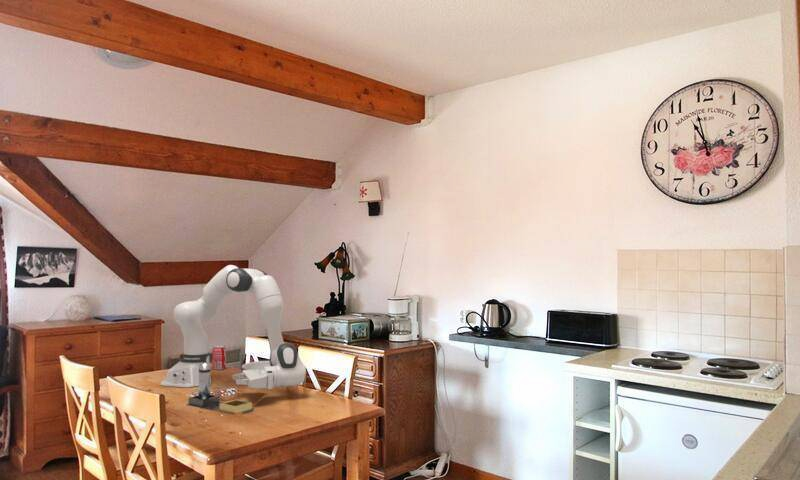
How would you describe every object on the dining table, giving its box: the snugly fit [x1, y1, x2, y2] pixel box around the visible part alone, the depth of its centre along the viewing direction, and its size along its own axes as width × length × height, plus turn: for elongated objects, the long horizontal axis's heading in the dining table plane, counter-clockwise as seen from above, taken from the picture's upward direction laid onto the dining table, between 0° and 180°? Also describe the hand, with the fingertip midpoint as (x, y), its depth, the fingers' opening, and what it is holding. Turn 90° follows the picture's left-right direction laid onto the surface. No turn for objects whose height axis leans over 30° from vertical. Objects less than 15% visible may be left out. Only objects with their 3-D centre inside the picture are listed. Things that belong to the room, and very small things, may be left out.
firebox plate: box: [186, 393, 255, 416], centre depth 224 cm, size 26×11×4 cm, turn 60°
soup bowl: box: [241, 360, 271, 370], centre depth 280 cm, size 24×24×7 cm
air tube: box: [197, 361, 212, 400], centre depth 229 cm, size 5×5×16 cm
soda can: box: [211, 345, 227, 371], centre depth 302 cm, size 7×7×12 cm
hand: (234, 379), depth 234 cm, fingers open, 8 cm apart
